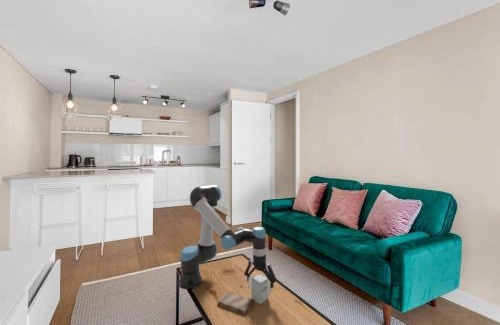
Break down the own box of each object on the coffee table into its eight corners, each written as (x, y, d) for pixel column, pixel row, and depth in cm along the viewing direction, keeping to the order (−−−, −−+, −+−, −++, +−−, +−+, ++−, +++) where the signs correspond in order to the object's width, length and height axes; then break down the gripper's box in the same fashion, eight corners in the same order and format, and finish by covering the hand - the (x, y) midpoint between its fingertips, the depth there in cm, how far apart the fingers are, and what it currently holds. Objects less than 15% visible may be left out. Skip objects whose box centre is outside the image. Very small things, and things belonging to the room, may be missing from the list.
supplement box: (261, 304, 139) (260, 283, 138) (251, 299, 144) (250, 278, 143) (268, 298, 144) (268, 277, 144) (258, 294, 149) (258, 274, 149)
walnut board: (217, 304, 139) (217, 301, 139) (228, 294, 149) (228, 291, 149) (244, 314, 131) (244, 310, 130) (254, 303, 140) (254, 299, 140)
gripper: (238, 252, 146) (238, 287, 146) (276, 261, 134) (277, 299, 134) (244, 248, 152) (245, 282, 153) (281, 255, 140) (282, 292, 141)
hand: (260, 290), depth 144 cm, fingers open, 13 cm apart
